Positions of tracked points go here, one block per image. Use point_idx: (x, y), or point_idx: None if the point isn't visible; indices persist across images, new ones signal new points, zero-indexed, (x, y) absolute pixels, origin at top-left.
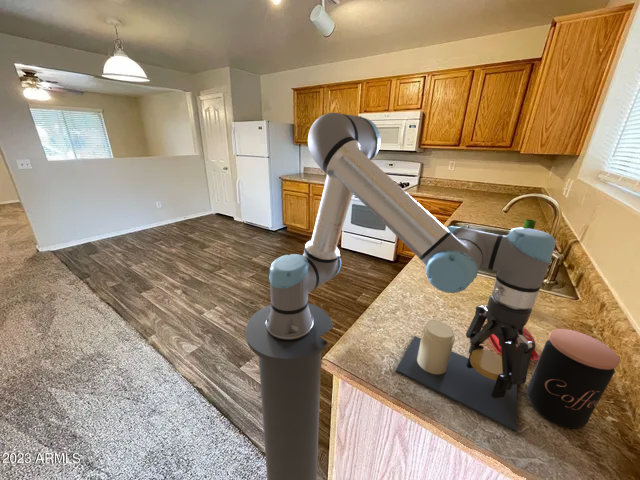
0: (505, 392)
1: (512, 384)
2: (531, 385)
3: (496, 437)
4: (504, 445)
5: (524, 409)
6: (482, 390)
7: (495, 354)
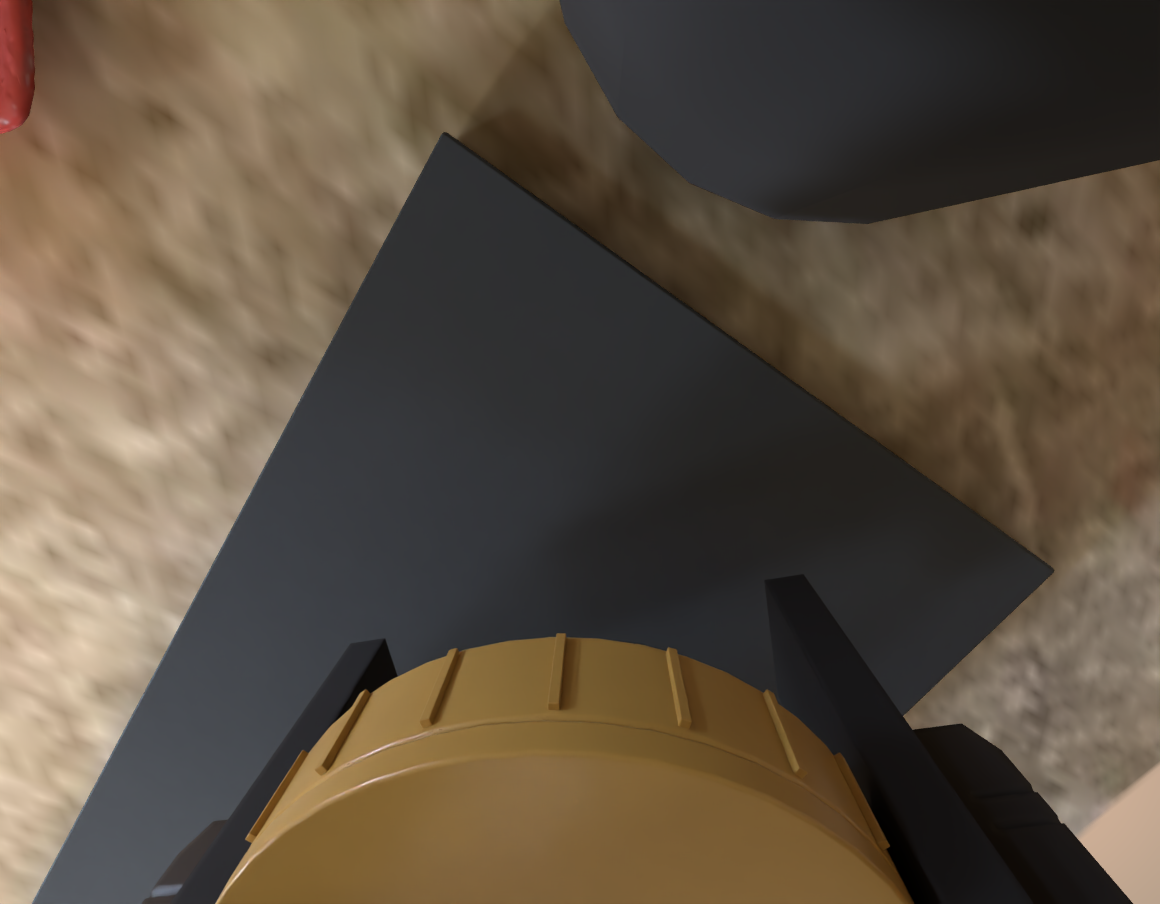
0: (830, 617)
1: (1083, 850)
2: (779, 167)
3: (1039, 724)
4: (1106, 703)
5: (834, 317)
6: (636, 640)
7: (327, 868)
